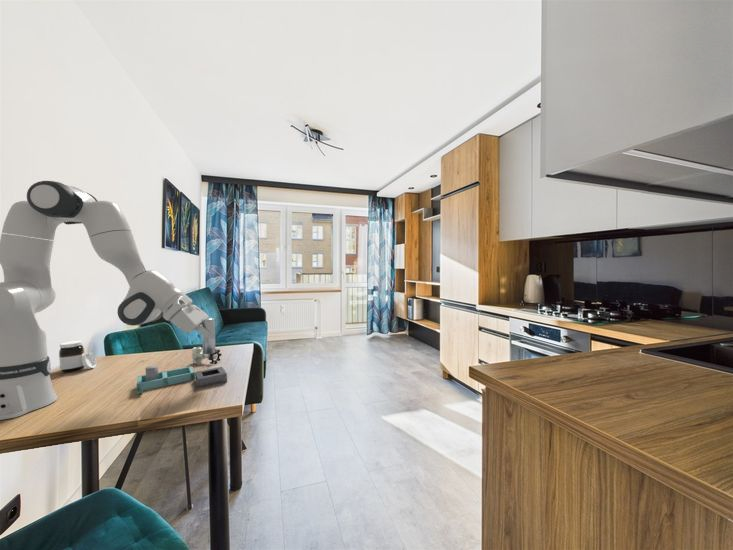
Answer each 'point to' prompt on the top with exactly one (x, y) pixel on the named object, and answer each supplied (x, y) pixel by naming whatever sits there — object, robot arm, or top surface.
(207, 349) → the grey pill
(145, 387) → the rack
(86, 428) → the top surface
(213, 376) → the socket block
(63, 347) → the spread jar
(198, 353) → the valve
